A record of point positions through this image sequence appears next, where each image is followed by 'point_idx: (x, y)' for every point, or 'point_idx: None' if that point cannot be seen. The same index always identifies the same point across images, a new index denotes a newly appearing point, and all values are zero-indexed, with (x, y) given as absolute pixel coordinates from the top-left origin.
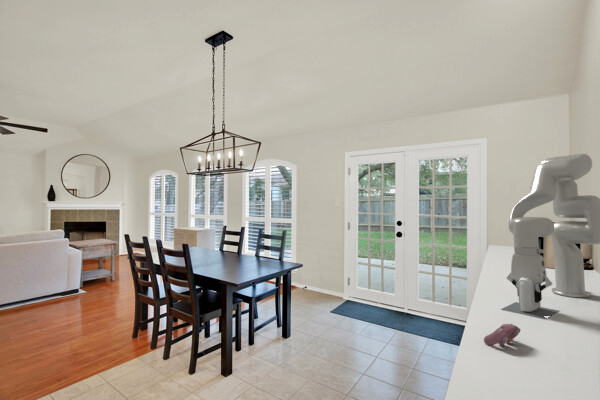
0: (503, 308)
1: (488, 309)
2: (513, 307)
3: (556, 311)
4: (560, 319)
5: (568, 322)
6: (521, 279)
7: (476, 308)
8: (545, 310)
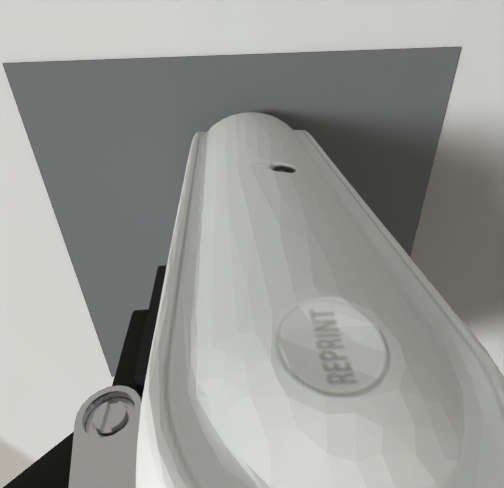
0: (109, 351)
1: (72, 419)
2: (132, 279)
3: (434, 107)
4: (457, 289)
5: (497, 308)
6: None
7: (21, 447)
8: (348, 156)
